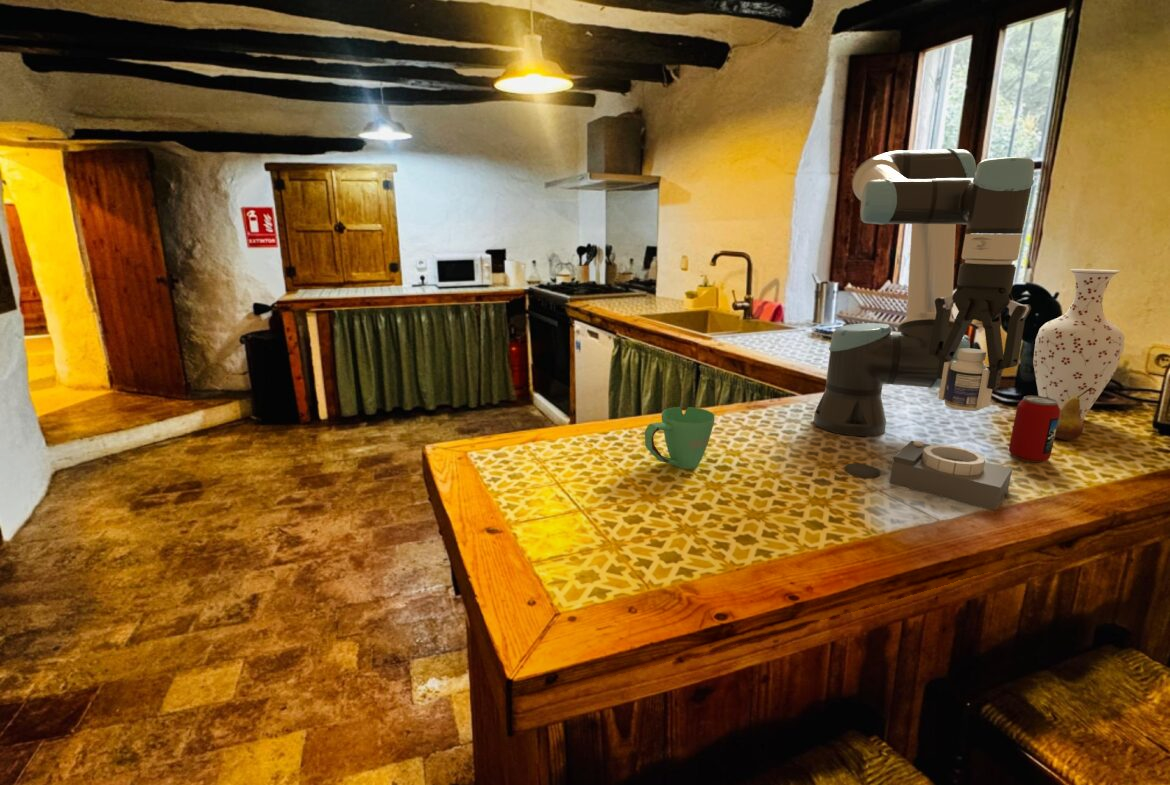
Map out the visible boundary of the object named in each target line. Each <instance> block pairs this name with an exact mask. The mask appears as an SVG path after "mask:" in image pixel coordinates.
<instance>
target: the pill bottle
mask: <svg viewBox="0 0 1170 785" xmlns="http://www.w3.org/2000/svg"><path fill="white" fill-rule="evenodd" d="M957 358H958V361H955V362H953V363H952V364H951V367H950V372H949V378H948V385H947V391H946V397H945V400H944V405H945V406H946V407H947V408H948V407H949V408H951V409H954V410H958V411H959V410H960V411H965V412H966V411H968V412H977V411H979V410H981V409H980V408H976V406H977V400H978V395H979V389H980V384H981V379H982V373H983V369H986V368H987V367H988V365H987V364H985V363H984V361H985V360H986V358H987V350H984V349H978V348H971V347H970V348H961V349H958V353H957Z"/></svg>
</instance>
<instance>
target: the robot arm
mask: <svg viewBox="0 0 1170 785" xmlns="http://www.w3.org/2000/svg"><path fill="white" fill-rule="evenodd" d="M1034 175H1035V162H1034V160H1033V159H1032V158H1029V157H1017V156H1016V157H996V158H995V157H994V158H988V159H984V160H982V161H980V162H978V164H977V165H976V160H975V158H974V156H973V154H972V153H971V152H969V150H967V149H955V148H954V149H953V148H949V147H947V148H944V149H926V150H925V149H923V150H922V149H920V150H918V149H917V150H916V149H915V150H914V149H913V150H893V151H888V152H883V153H880V154H878V155H877V154H876V155H874V156H872V157H870V158H869V159H867V160H865V161H864V162H862V163H861V164H860V165H859V166H858V167H857V168H856V170H855V172H854V174H853V176H852V178H851V179H852V181H851V187H852V189H851V190H852V192H853V194H854V195H855V197H856V198H857V199H858V200H859V201H860V210H859V211H860V220H861V222H862V223H864V224H873V225H874V224H875V225H879V226H882V225H883V226H884V225H905V224H906V225H907V224H908V225H910V224H911V234H910V235H911V236H910V251H909V252H910V253H909V267H908V270H909V271H908V287H907V288H908V289H907V290H908V291H907V305H906V318H905V319H903V320H902V322H900V323H899V324H898V330H897V331H895V330H893V331H892V328H891V325H890V324H887V323H882V322H881V323H878V322H877V323H874V322H864V323H853V324H847V325H843V326H839V327H838V328H836V329H835V330H834V331H833V332H832V334H831V340H830V345H829V347H828V351H829V354H828V355H829V357H828V364H827V365H828V366H827V372H826V373H827V374H826V381H825V382H826V383H825V389H824V392H823V394H822V397H821V398H820V400H819V402H818V405H817V407H816V409H815V410H814V414H813V424H814V425H815V426H816V427H818V428H820V429H822V430H824V431H828V432H831V433H833V434H834V433H835V434H839V435H845V436H854V437H855V436H857V437H871V436H872V437H873V436H878V435H881V434H884V433H885V431H886V426H887V420H886V419H887V418H886V414H885V409H884V405H883V404H884V403H883V399H882V390H883V385H892V386H905V387H906V386H909V387H921V388H928V389H933V388H939V392H938V393H939V394H938V398H937V399H938V400H941V401H943V400H944V401H945V397H946V391H947V385H948V378H949V372H950V367H951V364H952V363H953V362H955V361H958V358H957V353H958V349H961V348H971V342H970V337H969V336H968V335H967V334H966V332H967V330H968V328H969V326H970V325H971V324H972V322H973V321H974V320H975V321H977V322H981V323H982V324H981V325H982V328H983V329H984V333H985V335H984V336H985V343H986V354H987V359H988V366H987V368H986V369H983V373H982V379H981V384H980V389H979V395H978V400H977V406H976V408H980V410H982V409H984V408H985V409H986V408H988V407H990V406H991V401H992V400H991V399H992V393H993V390H996V389H998V388H999V387H1000V384H1001V379H1002V374H1003V371H1004V370H1005V369H1010V368H1014V367H1016V366H1018V364H1019V361H1020V360H1019V359H1020V353H1021V349H1022V348H1021V347H1022V342H1023V333H1024V329H1025V322H1026V319H1027V317H1028V315H1029V314H1030V312H1031V310H1032V307H1031V305H1030V304H1022V303H1019V302H1017V301H1014V298H1013V295H1012V290H1013V286H1014V280H1015V274H1016V270H1017V266H1016V265H1015V264H1013V262H1014V261H1017V260H1018V259H1019V254H1020V250H1021V244H1022V242H1021V241H1022V239H1023V238H1022V236H1023V232H1024V231H1023V230H1024V228H1025V227H1024V226H1025V221H1026V217H1027V211H1028V206H1029V202H1030V196H1031V191H1032V187H1033V185H1034V183H1035V182H1034ZM956 225H963V226H965V225H966V229H965V234H964V240H963V246H962V250H961V251H962V252H961V258H962V260H964V262H962V263H961V264H960V265H959V268H958V276H957V282H956V284H957V285H956V290H955V291H954V278H955V277H954V274H955V252H956V251H955V249H956V230H957V228H956V227H957V226H956ZM954 305H955V307H956V309H957V311H958V312H957V315H956V317H955V319H954V318H953V307H954ZM1007 309H1008V315H1009V316H1010V317H1009V319H1008V324H1007V331H1006V335H1005V336H1006V338H1005V343H1004V347H1003V339H1002V332H1001V330H1002V329H1001V325H1002V316H1001V315H1002V314H1003V313H1005V311H1006V310H1007Z"/></svg>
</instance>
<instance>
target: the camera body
mask: <svg viewBox="0 0 1170 785" xmlns="http://www.w3.org/2000/svg"><path fill="white" fill-rule="evenodd" d="M891 466H892V467H891V471H890V479H889V483H890V484H894V485H897V486H901V487H905V488H908V489H912V490H916V491H920V492H923V493H927V494H932V495H935V496H939V497H943V498H946V499H951V500H955V501H959V502H961V503H966V504H970V505H973V506H977V507H981V508H983V509H984V508H985V509H989V510H993V511H995V512H996V511H997V509H998V508H999V506H1000V504H1001V502H1002V501H1003V499H1004V497H1005V496H1006V494H1007V492H1008V491H1009V487H1010V482H1011V478H1012V472H1013V468H1012V467H1010V466H1009V467H1008V466H1003V465H999V464H995V463H990V462H986V458H985V457H984V456H983V455H982V454H981V453H978V452H976V451H974V450H971V449H968V448H964V447H959V446H955V445H947V444H946V445H945V444H943V445H942V444H934V445H931V444H928V443H924V442H922V441H918V440H914V441H913V440H911V441H910V442H909V443H908V444H906V445H905V446H904V447H903V448H902V449H901V450H899V451H898V452H897V453H896V454H895V455H894V456H893V459H892V465H891Z"/></svg>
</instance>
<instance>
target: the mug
mask: <svg viewBox="0 0 1170 785" xmlns="http://www.w3.org/2000/svg"><path fill="white" fill-rule="evenodd" d="M714 425H715V414H714V413H713V412H712V411H710V410H708V409H707V410H706V409H703V408H699V407H693V406H692V407H690V406H687V407H686V410H685V412H684V413H683V410H682V407H681V406H676V407H670V408H666V409H664V410H663V411H662V412H661V422H652V423H649V424H648V425H647V427H646V429H645V430H644V439H645V440H644V442H645V448H646V449H647V450H648V451H649V452H650V454H652V456H654V458H655V459H657V461H659V462H662V463H665V464H670V465H673V466H674V467H676V468H678V469H682V470H693V469H695V468H696V469H697V468H698V466H699V465H700V463H701V461H702V459H703V457H704V454H705V453H706V449H707V446H708V445H709V442H710V437H711V435H712V431H713V428H714ZM659 431H663V433H664V434H663V435H664V440H665V441H664V442H665V444H666V448H667V452H668V455H669V457H668V456H666V455H665V456H664V455H662V454H661V452H660V451H659V449H658V448H657V447H656V445H655V441H654V436H655V434H656V432H659Z"/></svg>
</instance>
